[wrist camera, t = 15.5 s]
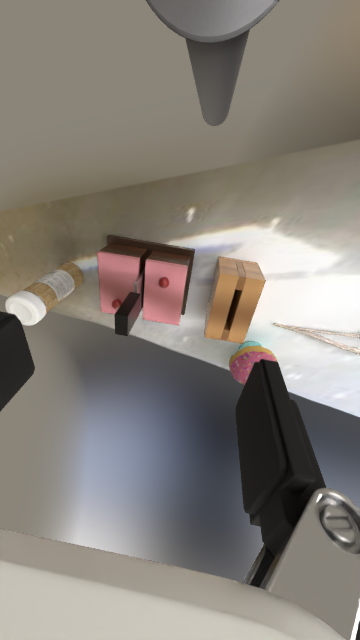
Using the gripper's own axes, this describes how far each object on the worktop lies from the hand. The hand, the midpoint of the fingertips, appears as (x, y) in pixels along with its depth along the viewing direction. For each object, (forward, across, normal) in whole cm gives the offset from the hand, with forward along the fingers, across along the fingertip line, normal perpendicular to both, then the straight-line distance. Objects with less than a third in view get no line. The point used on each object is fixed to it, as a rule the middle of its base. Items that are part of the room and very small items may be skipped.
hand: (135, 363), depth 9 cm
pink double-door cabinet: (+30, +6, +10) cm, 32 cm away
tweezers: (+31, -26, +15) cm, 43 cm away
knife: (+30, +6, +10) cm, 32 cm away
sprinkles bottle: (+31, +20, +12) cm, 38 cm away
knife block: (+30, -8, +10) cm, 33 cm away
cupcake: (+31, -15, +22) cm, 40 cm away
